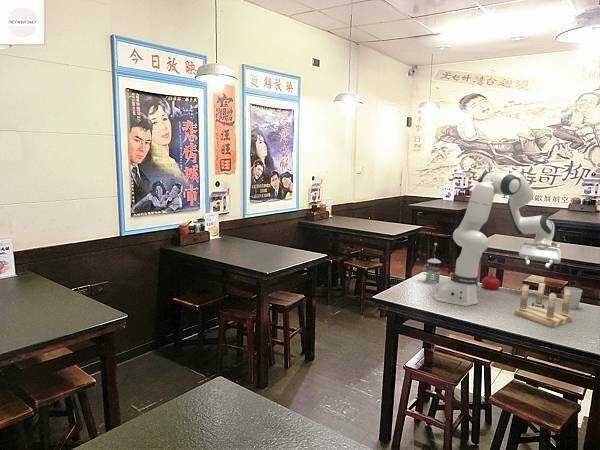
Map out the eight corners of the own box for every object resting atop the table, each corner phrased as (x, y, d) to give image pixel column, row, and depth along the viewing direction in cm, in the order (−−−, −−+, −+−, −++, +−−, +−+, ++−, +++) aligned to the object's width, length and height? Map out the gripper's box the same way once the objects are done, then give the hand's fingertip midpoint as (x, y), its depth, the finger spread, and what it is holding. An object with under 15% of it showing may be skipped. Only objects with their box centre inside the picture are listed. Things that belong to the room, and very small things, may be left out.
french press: (444, 285, 252) (447, 244, 248) (427, 286, 249) (430, 244, 245) (434, 280, 262) (438, 241, 258) (418, 281, 259) (421, 241, 255)
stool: (551, 327, 192) (555, 295, 190) (513, 314, 208) (517, 284, 205) (572, 321, 201) (576, 290, 199) (534, 308, 217) (538, 279, 214)
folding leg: (541, 303, 211) (545, 281, 214) (535, 301, 213) (539, 280, 216) (542, 304, 213) (546, 283, 217) (535, 303, 215) (539, 282, 218)
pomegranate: (491, 292, 243) (492, 276, 242) (477, 286, 252) (479, 272, 250) (503, 290, 247) (505, 275, 246) (489, 285, 256) (491, 270, 254)
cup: (582, 310, 217) (585, 292, 215) (565, 309, 218) (567, 290, 216) (575, 305, 224) (578, 287, 223) (559, 304, 226) (561, 286, 224)
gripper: (521, 239, 238) (515, 259, 232) (563, 245, 226) (559, 265, 220) (521, 245, 242) (516, 265, 236) (562, 251, 230) (558, 272, 224)
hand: (537, 265), depth 228 cm, fingers open, 8 cm apart
